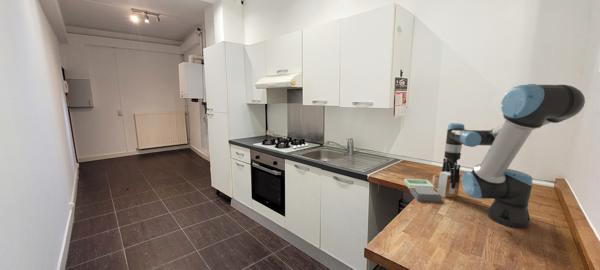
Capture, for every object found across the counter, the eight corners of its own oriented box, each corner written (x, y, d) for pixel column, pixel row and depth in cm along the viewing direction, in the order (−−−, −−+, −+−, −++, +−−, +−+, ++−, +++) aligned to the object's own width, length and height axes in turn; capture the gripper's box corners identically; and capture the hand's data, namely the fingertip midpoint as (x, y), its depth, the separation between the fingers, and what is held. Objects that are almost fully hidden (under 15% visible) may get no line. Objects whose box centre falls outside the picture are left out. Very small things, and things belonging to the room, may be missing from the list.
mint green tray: (434, 190, 146) (434, 186, 145) (409, 189, 147) (409, 185, 146) (426, 183, 156) (426, 179, 156) (403, 182, 158) (404, 178, 157)
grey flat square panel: (438, 195, 131) (438, 194, 131) (418, 194, 132) (419, 193, 132) (430, 188, 141) (430, 186, 141) (412, 187, 142) (412, 185, 142)
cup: (447, 188, 148) (448, 179, 147) (435, 188, 149) (436, 178, 148) (442, 184, 155) (443, 175, 154) (430, 183, 156) (431, 174, 155)
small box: (444, 197, 136) (447, 175, 134) (437, 192, 142) (439, 171, 140) (458, 196, 137) (461, 174, 135) (449, 192, 143) (452, 170, 141)
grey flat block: (440, 201, 131) (441, 195, 130) (416, 200, 132) (416, 194, 131) (431, 192, 142) (431, 186, 142) (408, 191, 144) (409, 185, 143)
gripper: (470, 156, 125) (464, 198, 129) (451, 147, 144) (446, 184, 149) (455, 156, 125) (449, 197, 130) (437, 146, 145) (433, 183, 149)
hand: (447, 190), depth 139 cm, fingers closed on small box, 7 cm apart
